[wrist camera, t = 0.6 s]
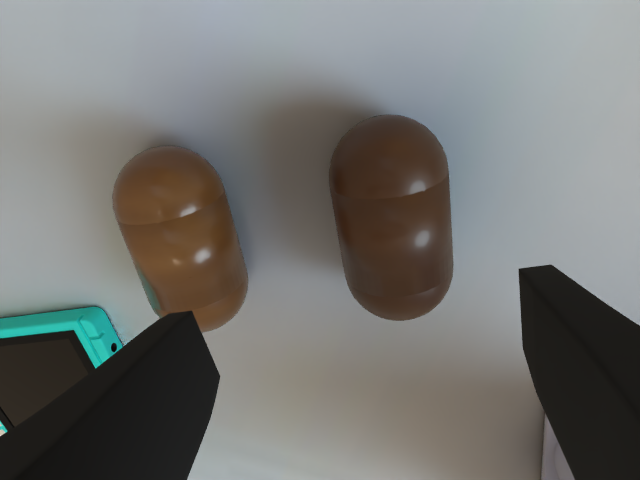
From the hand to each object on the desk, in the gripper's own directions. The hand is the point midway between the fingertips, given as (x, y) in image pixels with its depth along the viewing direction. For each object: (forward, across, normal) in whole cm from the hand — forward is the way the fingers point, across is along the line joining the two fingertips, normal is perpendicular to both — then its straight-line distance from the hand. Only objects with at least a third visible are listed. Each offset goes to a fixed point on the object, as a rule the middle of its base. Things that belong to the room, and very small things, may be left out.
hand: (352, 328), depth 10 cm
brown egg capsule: (+9, +7, +1) cm, 12 cm away
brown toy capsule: (+9, -1, +1) cm, 9 cm away
